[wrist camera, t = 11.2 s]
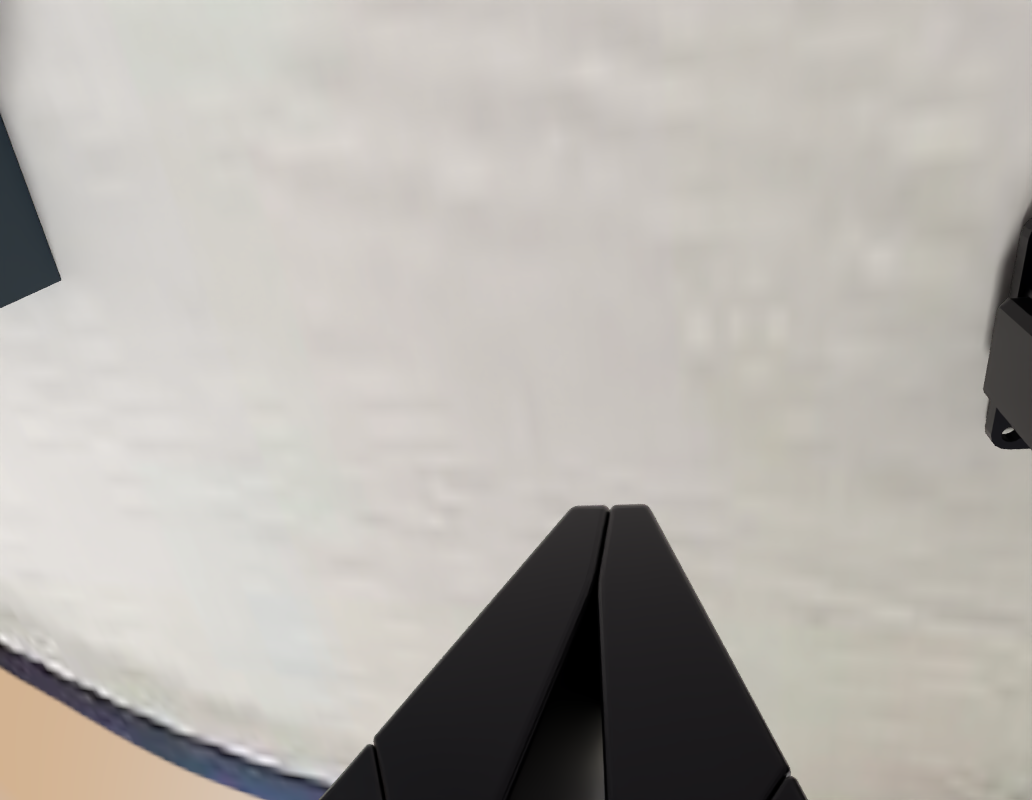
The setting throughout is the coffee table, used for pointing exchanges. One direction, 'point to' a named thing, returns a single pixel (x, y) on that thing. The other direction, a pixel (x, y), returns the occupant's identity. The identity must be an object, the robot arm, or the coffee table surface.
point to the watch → (20, 234)
